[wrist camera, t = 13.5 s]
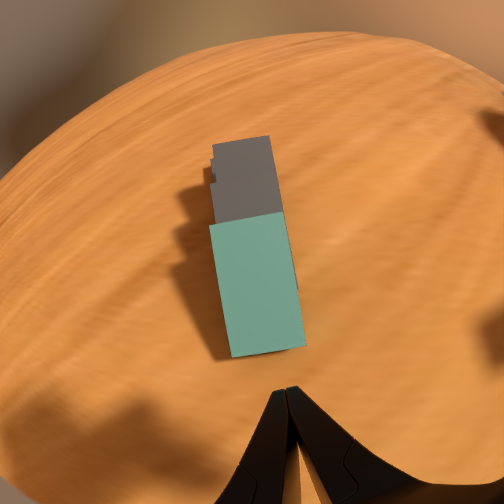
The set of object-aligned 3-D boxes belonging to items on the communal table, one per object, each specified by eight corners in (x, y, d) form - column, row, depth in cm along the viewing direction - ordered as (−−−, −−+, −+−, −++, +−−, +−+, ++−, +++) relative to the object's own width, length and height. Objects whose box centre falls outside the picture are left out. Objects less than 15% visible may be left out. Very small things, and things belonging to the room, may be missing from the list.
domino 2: (298, 289, 20) (274, 170, 21) (229, 301, 20) (209, 184, 21) (296, 288, 22) (274, 179, 23) (233, 300, 22) (214, 191, 23)
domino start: (306, 345, 18) (282, 211, 19) (231, 357, 18) (209, 225, 19) (303, 339, 20) (282, 217, 21) (235, 350, 20) (214, 229, 21)
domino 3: (287, 236, 22) (269, 135, 23) (224, 245, 23) (212, 144, 24) (286, 239, 24) (269, 144, 25) (228, 248, 24) (215, 153, 25)
